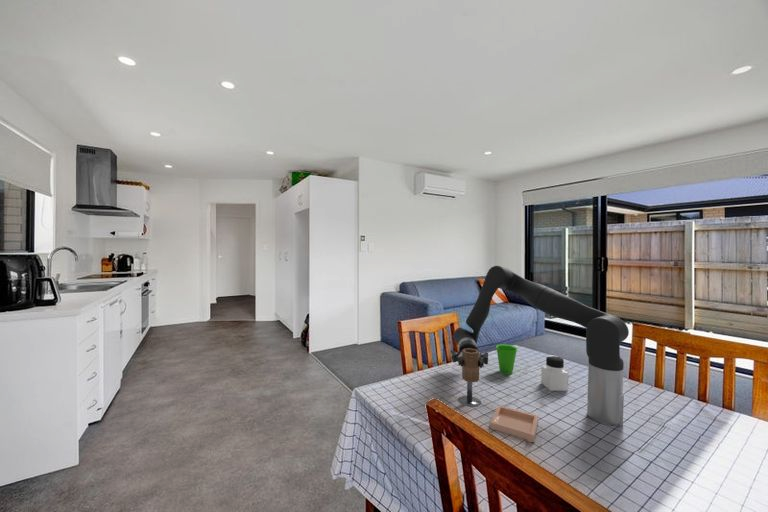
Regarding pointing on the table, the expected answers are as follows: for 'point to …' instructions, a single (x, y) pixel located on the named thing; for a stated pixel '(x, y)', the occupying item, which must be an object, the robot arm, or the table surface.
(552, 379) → the medicine bottle
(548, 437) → the table surface
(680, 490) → the table surface
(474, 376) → the octagonal pencil holder
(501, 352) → the cup
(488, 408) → the table surface
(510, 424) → the tray
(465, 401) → the paper towel holder
